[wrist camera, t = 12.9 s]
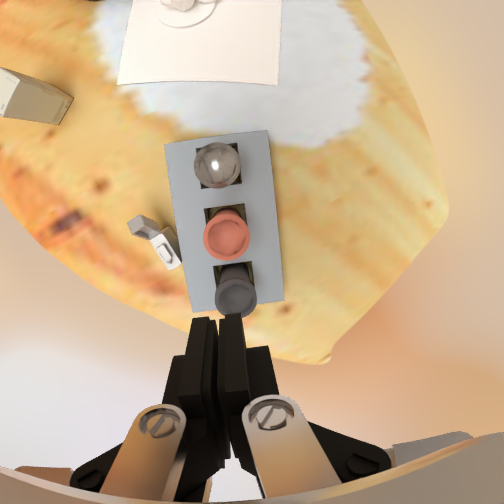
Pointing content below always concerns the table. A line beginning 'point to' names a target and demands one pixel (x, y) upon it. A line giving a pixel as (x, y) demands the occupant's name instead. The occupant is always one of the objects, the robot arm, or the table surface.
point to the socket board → (247, 192)
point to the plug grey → (217, 165)
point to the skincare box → (31, 98)
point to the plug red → (226, 235)
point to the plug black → (235, 290)
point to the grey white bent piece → (158, 239)
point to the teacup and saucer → (184, 3)
